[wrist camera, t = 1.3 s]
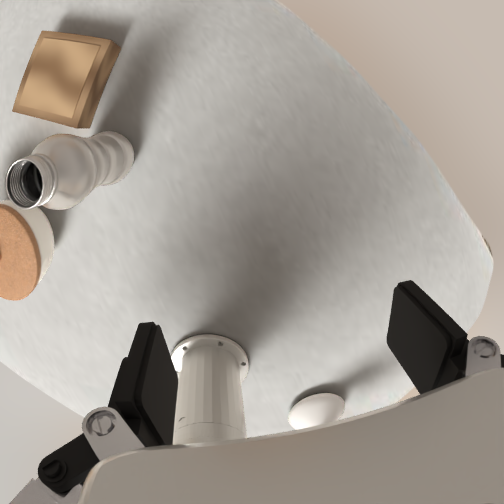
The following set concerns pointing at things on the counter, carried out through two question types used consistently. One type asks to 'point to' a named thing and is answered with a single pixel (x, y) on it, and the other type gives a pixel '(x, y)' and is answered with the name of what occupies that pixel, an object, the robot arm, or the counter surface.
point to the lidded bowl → (23, 249)
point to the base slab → (66, 78)
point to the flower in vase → (316, 410)
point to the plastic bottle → (68, 169)
